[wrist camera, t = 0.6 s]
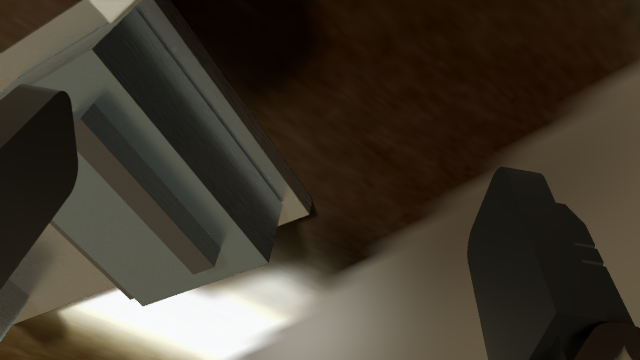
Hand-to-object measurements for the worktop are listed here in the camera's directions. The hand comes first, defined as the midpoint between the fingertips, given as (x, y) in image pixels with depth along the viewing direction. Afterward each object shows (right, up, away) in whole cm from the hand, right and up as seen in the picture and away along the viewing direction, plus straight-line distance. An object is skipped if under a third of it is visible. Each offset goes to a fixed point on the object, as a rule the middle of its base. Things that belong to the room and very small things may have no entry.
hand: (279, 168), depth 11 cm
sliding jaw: (-9, +2, +23) cm, 24 cm away
